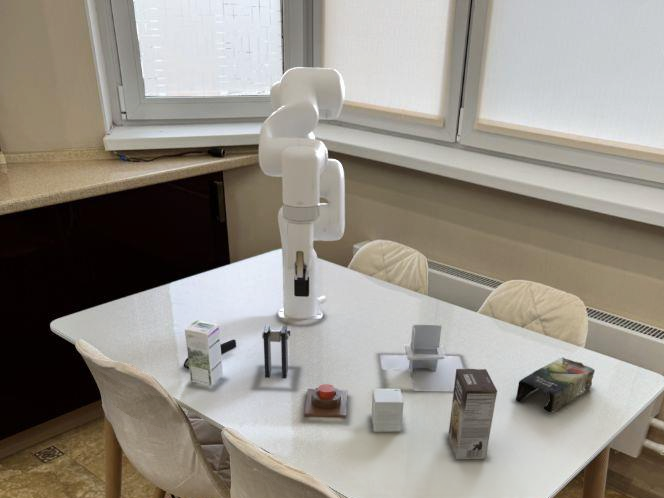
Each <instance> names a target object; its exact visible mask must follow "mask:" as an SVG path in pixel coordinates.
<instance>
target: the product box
mask: <svg viewBox="0 0 664 498" xmlns="http://www.w3.org/2000/svg"><path fill="white" fill-rule="evenodd" d="M404 404H405V403H404V399H403V395H402V391H401V389H400V388H373V389H372V396H371V413H370V414H371V417H370V419H371V422H372V429H373V432H375V433H376V432H377V433H382V432H385V433H387V432H402V424H403V414H404V413H403V412H404Z"/></svg>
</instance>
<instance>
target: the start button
mask: <svg viewBox="0 0 664 498" xmlns="http://www.w3.org/2000/svg"><path fill="white" fill-rule="evenodd" d="M317 388H318V396H319V397H321V398H333V397H334V396H335V388H336V387H335V386H334V385H333V384H329V383H328V384H326V383H325V384H321V385H319V386H318V387H317Z"/></svg>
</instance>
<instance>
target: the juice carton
mask: <svg viewBox="0 0 664 498" xmlns="http://www.w3.org/2000/svg"><path fill="white" fill-rule="evenodd" d="M594 374H595V369H594V368H593V367H591V366H588V365H584V364H583V363H582V362H580V361H579V362H578V361H574V360H572V359H569V358H566V357H563V356H561V357H560V358H557V359H556V360H554V361H552V362H550V363H548V364H546V365H544V366H542V367H540V368H538V369H536V370H535V371H533V372H532V373H530V374H528V375H526V376H525V377H522V379H520V380H519V381H518V385H517V391H516V396H515V401H516V402H518V403H521V401H522V400H523V399H524V398H526V397H527V396H529V394H531V393H532V392H534V391H537V390H538V389H539V390H538V391H540V392H544V393H545V394H548V396H549V397H548V399H549V400H548V401H547V404H546V405H544V406H543V408H542V410H543V411H546V412H547V413H549V414H552V413H553V412H554V413H555V412H556V411H557V410H560V409H561V408H562V407H566V405H568V404H570V402H573V401H574V400H575V399H576V398H577V397H579V396H581V395H583V394H585V393H586V392H587V391H588V390H590V389H591V387H592V386H593V385H592V384H593V378H594ZM584 389H585V390H584ZM581 391H582V392H581ZM577 394H578V395H577Z"/></svg>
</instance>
